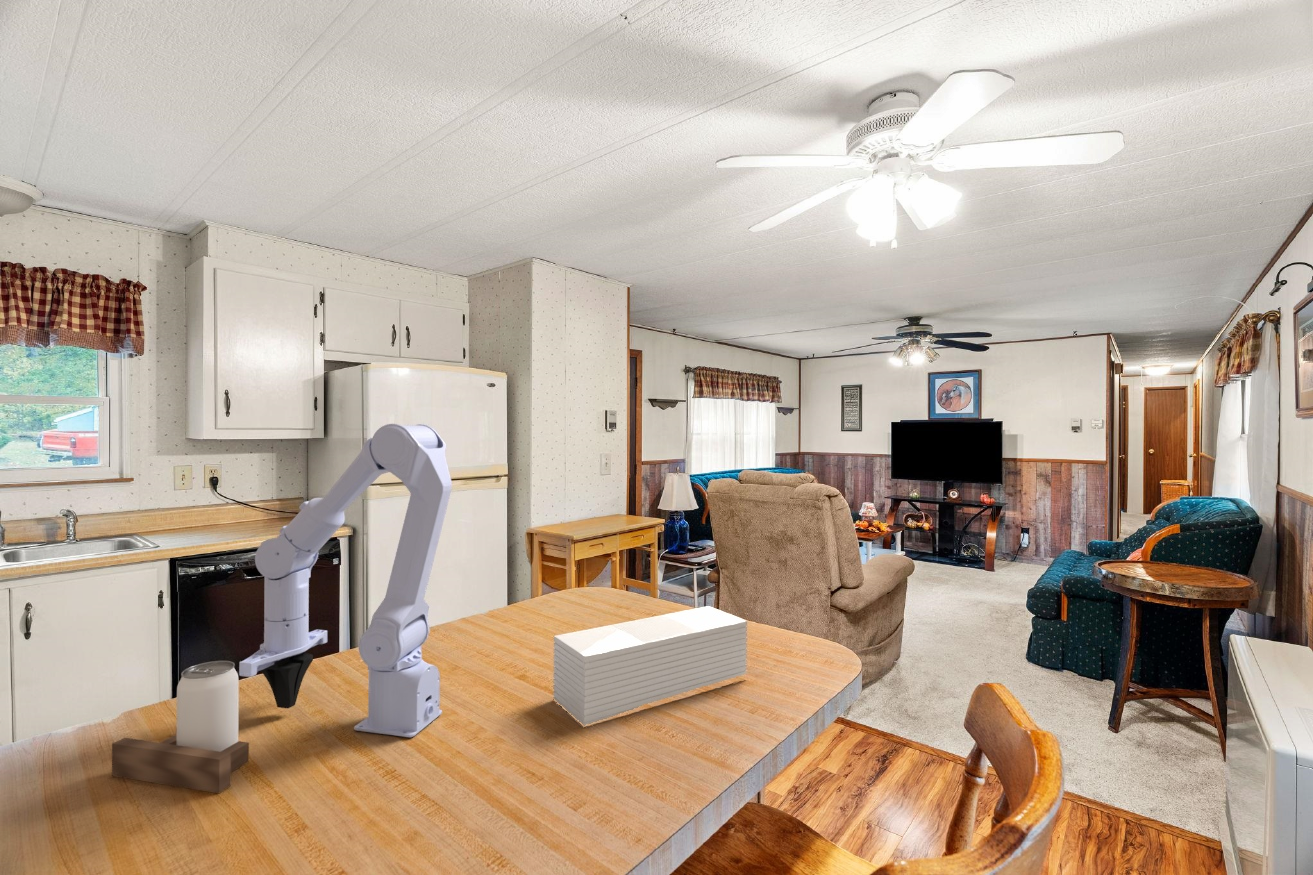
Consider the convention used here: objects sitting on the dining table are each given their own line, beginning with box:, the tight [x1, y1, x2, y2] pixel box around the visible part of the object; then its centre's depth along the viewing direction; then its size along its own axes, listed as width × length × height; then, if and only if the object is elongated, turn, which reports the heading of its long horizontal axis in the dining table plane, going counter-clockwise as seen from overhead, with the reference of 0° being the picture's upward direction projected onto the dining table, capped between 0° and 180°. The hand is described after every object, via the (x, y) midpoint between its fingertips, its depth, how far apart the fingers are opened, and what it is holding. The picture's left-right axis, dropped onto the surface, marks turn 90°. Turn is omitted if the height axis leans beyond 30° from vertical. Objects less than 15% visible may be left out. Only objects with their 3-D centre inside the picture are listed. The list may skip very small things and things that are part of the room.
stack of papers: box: [552, 605, 748, 726], centre depth 103 cm, size 32×11×11 cm, turn 124°
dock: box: [111, 733, 250, 794], centre depth 77 cm, size 16×6×4 cm, turn 78°
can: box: [176, 660, 240, 752], centre depth 80 cm, size 6×6×12 cm
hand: (286, 705), depth 92 cm, fingers closed
